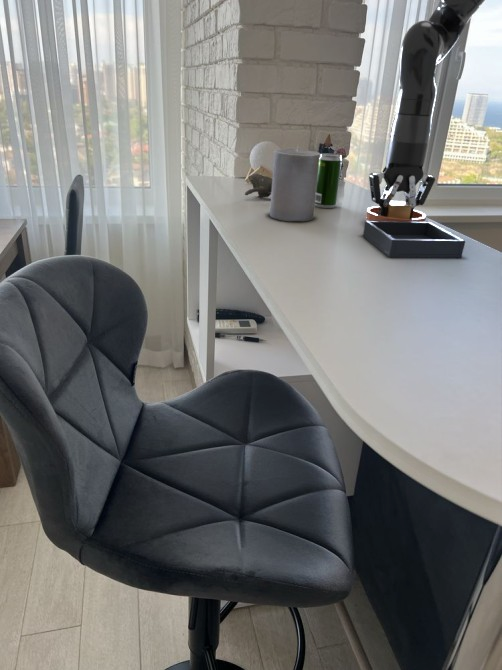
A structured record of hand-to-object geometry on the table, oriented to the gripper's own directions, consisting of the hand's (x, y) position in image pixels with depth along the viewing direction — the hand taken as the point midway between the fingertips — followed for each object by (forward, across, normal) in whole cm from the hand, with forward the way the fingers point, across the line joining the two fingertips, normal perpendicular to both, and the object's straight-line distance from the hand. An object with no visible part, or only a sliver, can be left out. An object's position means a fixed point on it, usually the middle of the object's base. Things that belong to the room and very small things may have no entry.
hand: (393, 223), depth 108 cm
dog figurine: (+1, -23, +26) cm, 35 cm away
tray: (+1, -3, -15) cm, 15 cm away
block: (0, 0, 0) cm, 0 cm away
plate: (+1, 0, 0) cm, 1 cm away
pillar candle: (+1, -21, +7) cm, 22 cm away
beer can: (+1, -10, +19) cm, 22 cm away
